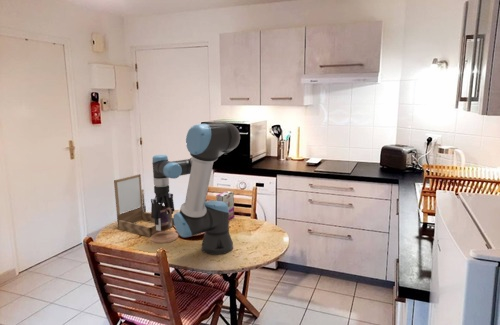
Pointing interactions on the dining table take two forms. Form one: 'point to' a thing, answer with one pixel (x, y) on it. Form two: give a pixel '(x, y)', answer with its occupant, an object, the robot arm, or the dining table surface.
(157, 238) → the saucer
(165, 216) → the mug
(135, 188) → the lid
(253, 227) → the dining table surface
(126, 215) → the cold frame
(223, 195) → the candy bar box
